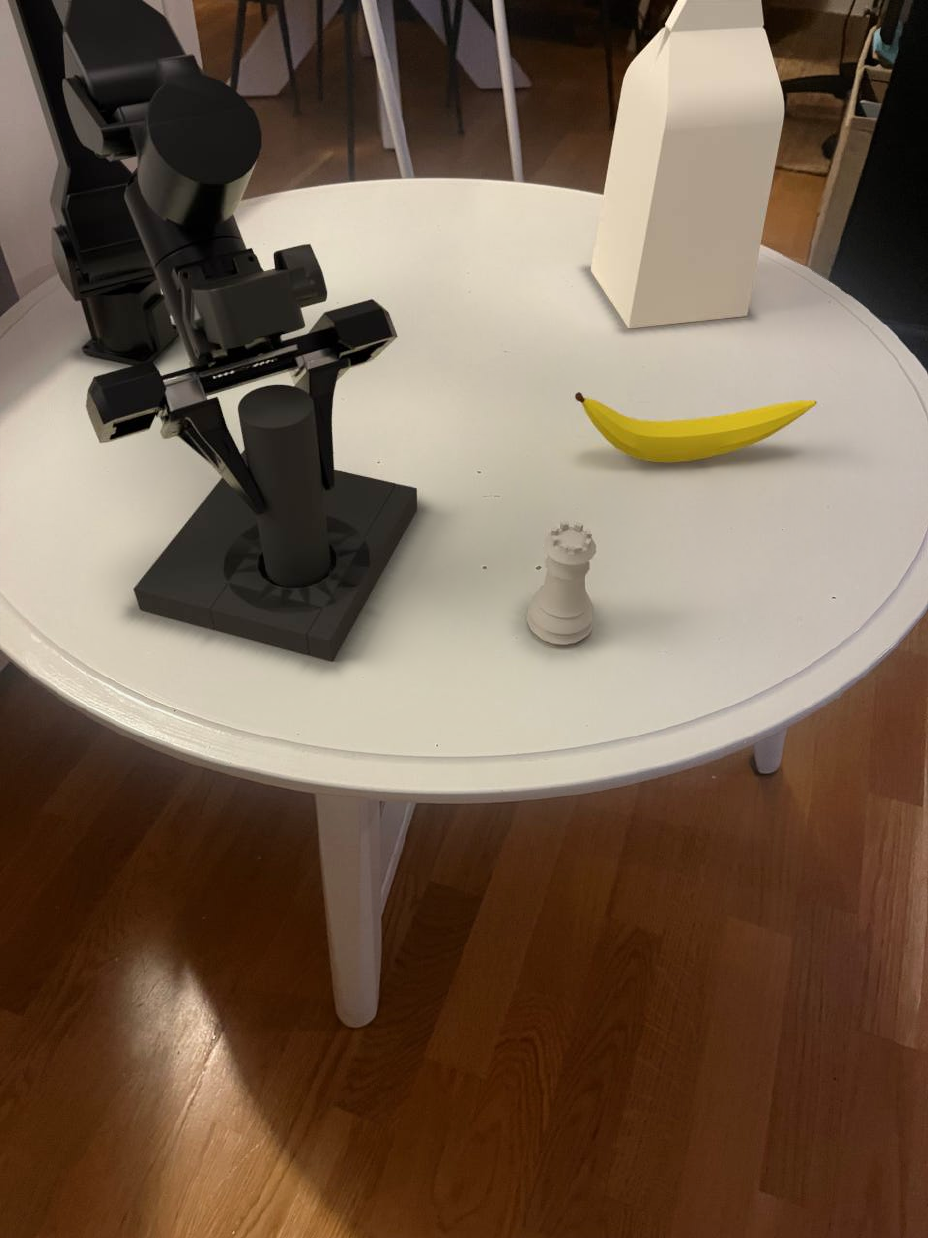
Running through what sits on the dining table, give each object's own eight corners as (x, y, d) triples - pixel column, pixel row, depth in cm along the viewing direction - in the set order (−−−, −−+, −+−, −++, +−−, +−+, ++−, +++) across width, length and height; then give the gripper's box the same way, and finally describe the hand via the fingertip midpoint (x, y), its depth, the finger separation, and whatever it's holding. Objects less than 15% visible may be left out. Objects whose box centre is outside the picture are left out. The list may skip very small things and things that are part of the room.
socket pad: (139, 610, 65) (132, 588, 64) (248, 469, 76) (244, 448, 74) (332, 661, 63) (330, 641, 61) (417, 508, 73) (417, 487, 72)
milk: (628, 328, 91) (678, 13, 72) (590, 270, 99) (626, -29, 80) (747, 315, 93) (825, 5, 74) (700, 259, 101) (761, -35, 82)
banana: (805, 464, 78) (828, 396, 73) (570, 473, 76) (579, 405, 72) (793, 442, 80) (815, 374, 75) (564, 451, 78) (572, 383, 74)
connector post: (275, 540, 68) (249, 380, 59) (337, 547, 68) (321, 387, 58) (258, 584, 65) (228, 423, 56) (322, 592, 65) (303, 431, 55)
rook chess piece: (522, 601, 67) (530, 512, 61) (586, 598, 67) (601, 509, 61) (530, 650, 64) (540, 561, 58) (598, 647, 64) (614, 558, 58)
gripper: (42, 241, 48) (165, 537, 50) (376, 166, 55) (474, 429, 57) (45, 314, 58) (146, 558, 60) (326, 243, 65) (410, 464, 67)
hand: (296, 501), depth 61 cm, fingers closed on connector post, 4 cm apart
